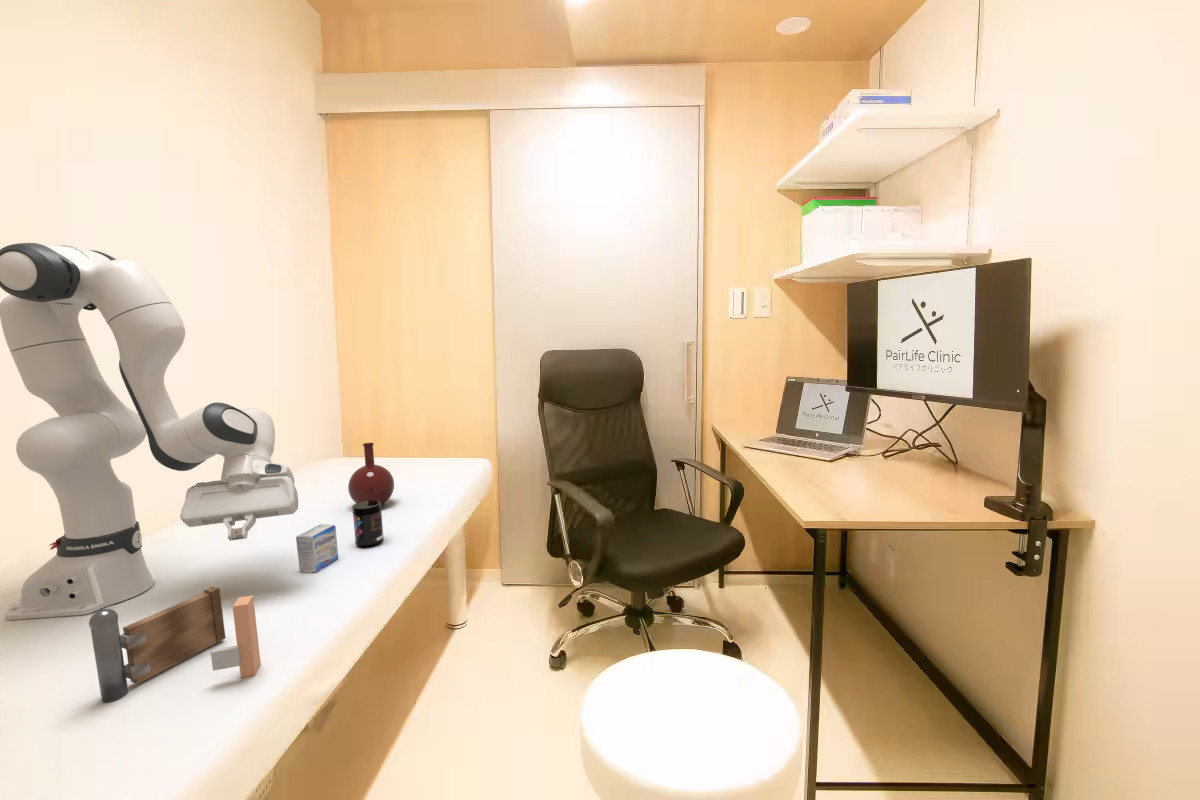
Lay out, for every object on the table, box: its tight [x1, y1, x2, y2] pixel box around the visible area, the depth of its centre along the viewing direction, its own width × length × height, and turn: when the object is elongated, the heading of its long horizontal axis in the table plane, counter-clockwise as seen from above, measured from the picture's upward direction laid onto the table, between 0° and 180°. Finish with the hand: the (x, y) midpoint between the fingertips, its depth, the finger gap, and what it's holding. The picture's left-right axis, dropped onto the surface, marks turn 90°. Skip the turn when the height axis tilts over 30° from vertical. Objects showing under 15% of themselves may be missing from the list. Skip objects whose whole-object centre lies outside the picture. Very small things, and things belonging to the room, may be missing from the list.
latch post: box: [210, 595, 262, 679], centre depth 86 cm, size 5×4×12 cm
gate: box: [120, 586, 226, 685], centre depth 90 cm, size 14×2×9 cm, turn 158°
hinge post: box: [88, 608, 129, 704], centre depth 81 cm, size 3×3×14 cm
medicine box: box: [295, 523, 339, 573], centre depth 127 cm, size 8×4×9 cm, turn 168°
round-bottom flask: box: [347, 442, 395, 506], centre depth 168 cm, size 13×13×20 cm
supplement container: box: [351, 500, 384, 549], centre depth 139 cm, size 7×7×10 cm
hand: (237, 538), depth 107 cm, fingers closed
